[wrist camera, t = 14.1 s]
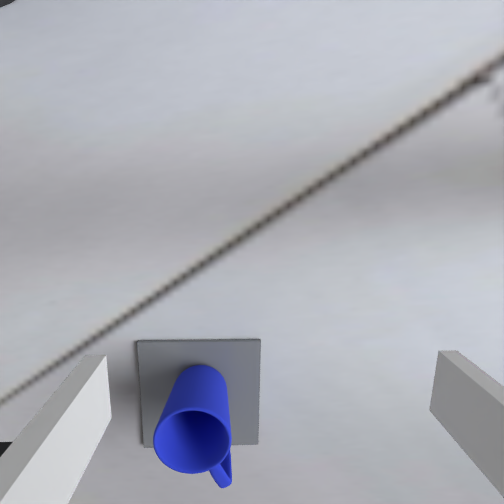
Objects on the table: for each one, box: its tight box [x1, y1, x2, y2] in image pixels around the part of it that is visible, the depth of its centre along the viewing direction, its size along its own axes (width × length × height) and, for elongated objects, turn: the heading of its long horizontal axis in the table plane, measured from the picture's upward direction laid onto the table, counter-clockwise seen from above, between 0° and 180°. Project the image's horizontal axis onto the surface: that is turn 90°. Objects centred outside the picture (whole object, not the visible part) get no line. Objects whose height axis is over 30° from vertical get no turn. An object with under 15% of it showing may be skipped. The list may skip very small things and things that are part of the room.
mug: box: [153, 365, 232, 488], centre depth 40 cm, size 8×12×10 cm
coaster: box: [137, 339, 261, 448], centre depth 45 cm, size 16×16×1 cm
